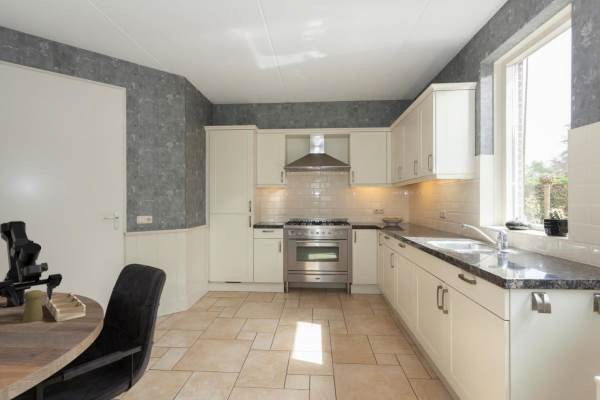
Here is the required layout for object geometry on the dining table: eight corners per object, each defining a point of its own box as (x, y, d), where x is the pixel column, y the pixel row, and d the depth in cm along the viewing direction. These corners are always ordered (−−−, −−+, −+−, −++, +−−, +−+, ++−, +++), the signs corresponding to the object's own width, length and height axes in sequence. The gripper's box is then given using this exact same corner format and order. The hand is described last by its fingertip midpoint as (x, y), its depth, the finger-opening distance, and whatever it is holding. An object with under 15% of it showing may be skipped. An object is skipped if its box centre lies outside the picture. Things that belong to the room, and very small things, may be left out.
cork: (47, 317, 115) (48, 288, 115) (31, 323, 109) (33, 293, 109) (33, 316, 115) (34, 288, 116) (17, 322, 109) (18, 292, 110)
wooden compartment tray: (45, 306, 127) (46, 296, 127) (70, 301, 133) (71, 292, 133) (57, 321, 110) (57, 311, 110) (85, 315, 117) (85, 305, 117)
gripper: (-2, 260, 107) (4, 296, 101) (61, 253, 122) (70, 284, 116) (-7, 278, 112) (-2, 314, 105) (54, 270, 127) (62, 301, 120)
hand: (34, 302), depth 111 cm, fingers open, 9 cm apart
